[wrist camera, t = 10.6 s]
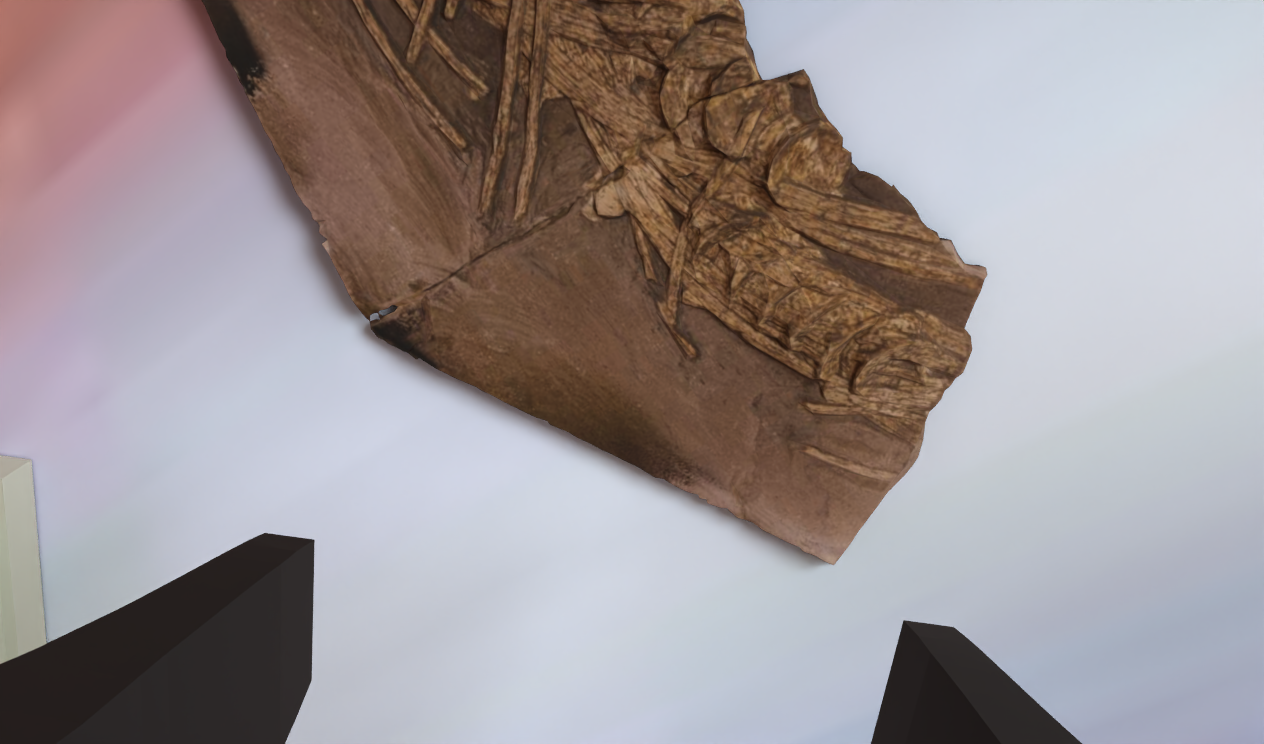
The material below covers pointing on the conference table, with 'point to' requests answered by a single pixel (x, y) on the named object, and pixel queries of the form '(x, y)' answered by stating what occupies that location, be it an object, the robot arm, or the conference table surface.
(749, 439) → the wooden fragment
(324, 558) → the conference table surface
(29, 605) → the rack
